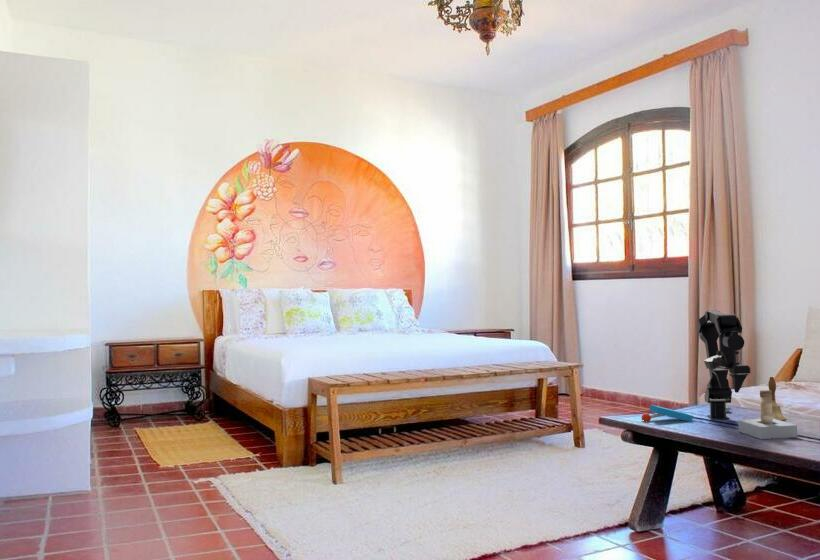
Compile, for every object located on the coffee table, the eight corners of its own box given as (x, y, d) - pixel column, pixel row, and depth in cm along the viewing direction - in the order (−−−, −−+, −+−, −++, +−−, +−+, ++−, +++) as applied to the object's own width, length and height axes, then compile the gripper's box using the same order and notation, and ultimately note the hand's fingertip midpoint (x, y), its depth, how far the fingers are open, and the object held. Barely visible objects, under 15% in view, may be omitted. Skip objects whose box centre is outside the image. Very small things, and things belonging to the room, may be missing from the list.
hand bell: (760, 419, 264) (759, 377, 264) (763, 416, 271) (761, 375, 271) (785, 421, 259) (783, 378, 259) (787, 417, 266) (785, 376, 266)
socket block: (738, 431, 244) (738, 420, 244) (773, 429, 245) (772, 418, 245) (761, 439, 231) (760, 427, 231) (797, 437, 232) (797, 425, 232)
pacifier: (717, 413, 280) (733, 413, 279) (716, 398, 280) (732, 397, 279) (712, 410, 287) (727, 410, 286) (710, 395, 287) (725, 394, 286)
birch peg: (759, 433, 239) (757, 390, 239) (766, 432, 240) (764, 389, 241) (768, 435, 236) (766, 391, 236) (775, 434, 237) (773, 390, 237)
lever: (681, 430, 271) (637, 419, 270) (685, 412, 271) (641, 402, 271) (689, 433, 264) (644, 422, 263) (693, 416, 265) (648, 404, 264)
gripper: (693, 347, 262) (695, 388, 262) (721, 351, 244) (722, 395, 243) (721, 346, 263) (723, 387, 263) (750, 349, 245) (752, 393, 244)
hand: (729, 390), depth 253 cm, fingers open, 9 cm apart
